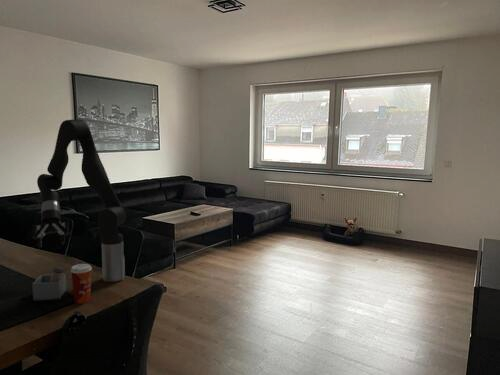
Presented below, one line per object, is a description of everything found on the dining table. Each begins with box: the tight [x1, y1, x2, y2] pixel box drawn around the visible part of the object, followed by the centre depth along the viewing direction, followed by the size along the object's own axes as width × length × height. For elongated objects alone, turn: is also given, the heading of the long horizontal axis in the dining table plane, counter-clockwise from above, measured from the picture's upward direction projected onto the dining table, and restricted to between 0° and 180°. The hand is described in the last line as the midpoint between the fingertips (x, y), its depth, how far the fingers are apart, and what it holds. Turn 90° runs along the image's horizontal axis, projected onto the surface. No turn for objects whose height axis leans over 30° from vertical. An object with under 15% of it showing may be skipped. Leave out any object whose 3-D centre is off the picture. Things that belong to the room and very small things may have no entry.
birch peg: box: [50, 266, 64, 282], centre depth 149 cm, size 4×4×10 cm
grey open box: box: [31, 273, 67, 302], centre depth 149 cm, size 9×9×7 cm
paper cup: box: [70, 263, 93, 304], centre depth 144 cm, size 8×8×14 cm
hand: (51, 245), depth 160 cm, fingers open, 8 cm apart
